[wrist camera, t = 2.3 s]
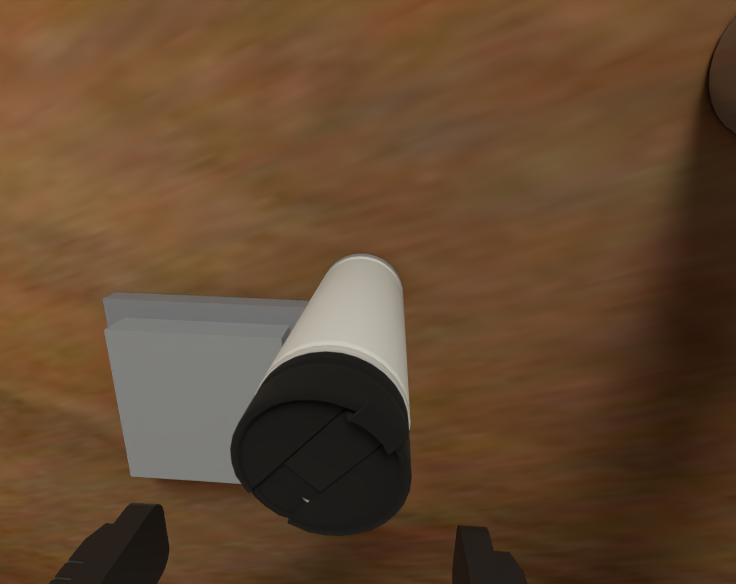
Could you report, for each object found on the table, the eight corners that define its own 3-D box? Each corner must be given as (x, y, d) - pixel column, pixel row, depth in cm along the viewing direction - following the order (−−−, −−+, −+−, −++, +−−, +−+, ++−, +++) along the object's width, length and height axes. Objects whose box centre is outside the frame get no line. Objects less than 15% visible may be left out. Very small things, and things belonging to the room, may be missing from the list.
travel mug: (423, 288, 32) (464, 482, 13) (364, 344, 34) (323, 587, 15) (363, 232, 31) (312, 350, 12) (305, 292, 33) (180, 480, 14)
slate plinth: (115, 292, 34) (80, 309, 30) (312, 300, 33) (302, 319, 29) (143, 457, 38) (116, 489, 35) (315, 468, 38) (306, 503, 34)
